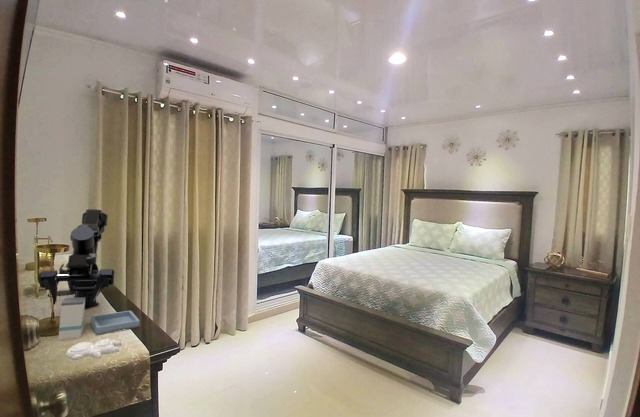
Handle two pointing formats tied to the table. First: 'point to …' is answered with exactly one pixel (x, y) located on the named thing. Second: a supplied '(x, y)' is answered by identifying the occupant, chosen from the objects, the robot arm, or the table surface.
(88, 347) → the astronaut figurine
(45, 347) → the table surface
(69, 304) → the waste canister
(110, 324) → the drip tray
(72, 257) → the robot arm
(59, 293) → the phone stand
